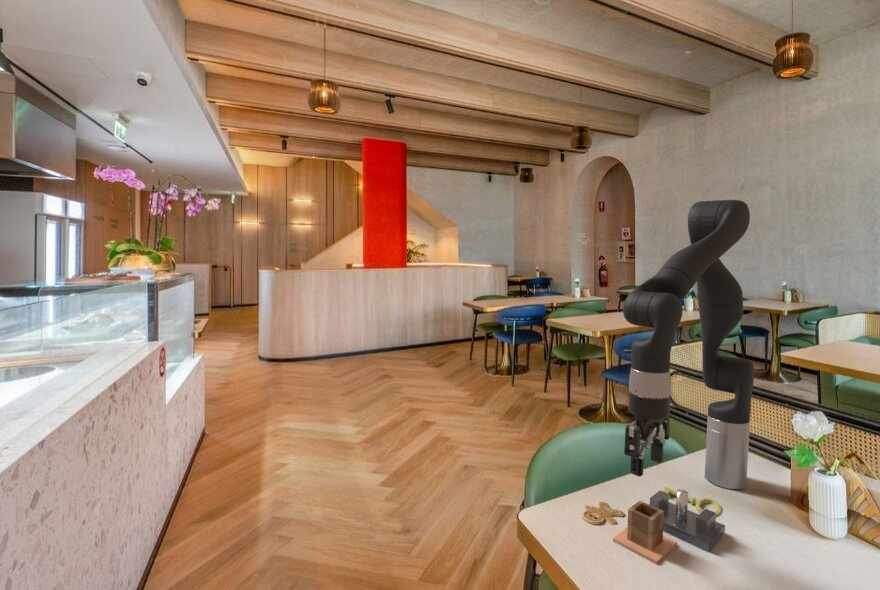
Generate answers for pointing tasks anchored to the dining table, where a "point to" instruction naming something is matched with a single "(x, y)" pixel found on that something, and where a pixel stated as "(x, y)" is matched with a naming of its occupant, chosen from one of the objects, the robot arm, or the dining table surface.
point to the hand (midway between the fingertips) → (646, 467)
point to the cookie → (601, 514)
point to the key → (697, 501)
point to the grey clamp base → (688, 521)
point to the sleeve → (645, 525)
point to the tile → (650, 555)
